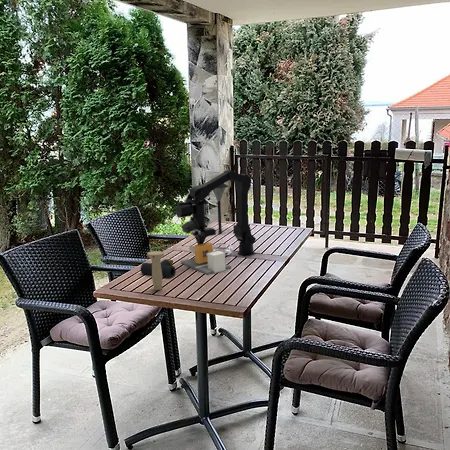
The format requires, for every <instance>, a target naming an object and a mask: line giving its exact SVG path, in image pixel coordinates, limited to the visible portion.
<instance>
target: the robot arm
mask: <svg viewBox="0 0 450 450" xmlns="http://www.w3.org/2000/svg"><path fill="white" fill-rule="evenodd" d="M229 181H230V182H234V188H235V190H236V194H237V222H236V224H234V225H233V227H232V228H233V232H232V234H234V237H235V238H236V240H237V242H238V243H239V245H238V252H237V254H238V255H241V256H243V257H248V256H250V255H255V254H256V252H254V243H256V241H257V239H256V237H255V236H254V235H253V234H252V230H251V229H252V228H251V226H250V224H249V222H248V221H249V220H248V217H249V213H248V211H249V208H248V205H249V204H248V200H249V198H248V196H249V195H248V194H249V191H250V189H251V188H252V177H251V176H250V175H249V174H245V173H238V172H235V171H234V170H227V169H226V170H224V171H223V172H222V173H220V174H218V175H216V176H215V177H213V178H211V179H210V180H209V181H207V182H205V183H202V184H198V185H194V186H192V187H191V188H189V193H188V195H187V197H186V198H185V201H179V202H177V205H176V206H175V214H176V217H177V218H178V219H179V218H185V217H190V218H189V220H188V221H186V222H185V223H184V224H182V225H181V229H182V231H183V233H185V234H191V235H192V236H193V237H195V241H196V244H197V245H199V244H204V243H205V241H206V239H207V237H211V236H217V235H216V234H217V230H216V229H215V228H213V227H208V224H206V220H207V219H208V216H206V210H205V207H206V206H205V205H208V204H210V203H209V201H207V199H206V198H207V197H209V195H210V193H211V192H213V190H214V189H216V188H217V187H219V186H220V185H222V184H226V183H227V182H229Z"/></svg>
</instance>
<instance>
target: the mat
mask: <svg viewBox="0 0 450 450" xmlns="http://www.w3.org/2000/svg"><path fill="white" fill-rule="evenodd" d="M180 264H182V265H184V266H186V267H189V268H191V269H193V270H196V271H198V272H199V273H200V272H201V273H203V274H205V275H212V274H215V273H214V271H213V270H211V269H208V262H204V263H200V264H198V263H196V262H195V257H194V258H189V259H185V260H181V261H180ZM225 268H226V270H230V269H232V265H229V264H226V263H225ZM226 270H225V271H226Z"/></svg>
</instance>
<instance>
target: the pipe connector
mask: <svg viewBox="0 0 450 450" xmlns="http://www.w3.org/2000/svg"><path fill="white" fill-rule="evenodd" d="M160 262H161V270H162V278H163V277H164V278H170V279H172V278H173V277H175V276H176V274H177V273H176V272H177V270H176V267H175V266H174V265H173V264H174V260H173V259H167V258H164V259H163V260H160ZM140 272H141V274H144V275H148V274H149V276H152V262H151V263H150V262H143V263H142V264H141V266H140Z"/></svg>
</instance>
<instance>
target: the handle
mask: <svg viewBox="0 0 450 450" xmlns="http://www.w3.org/2000/svg"><path fill="white" fill-rule="evenodd" d="M146 255H147V258H150V259H151V263H152V275H151V278H152V284H153V290H156V291H161V290H162V289H163V277H162V270H161V258H163V257H164V255H165V253H164V251H160V250H159V251H157V250H155V251H154V250H153V251H147V254H146Z"/></svg>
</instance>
